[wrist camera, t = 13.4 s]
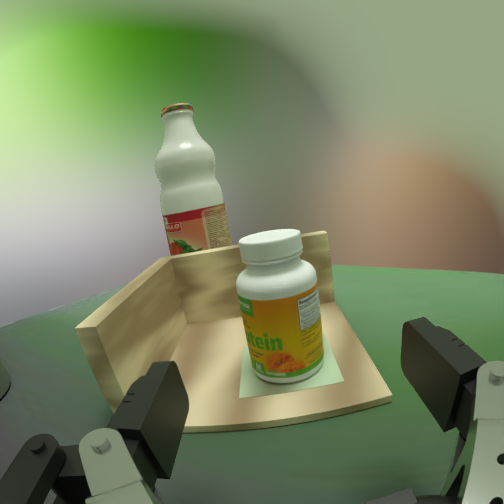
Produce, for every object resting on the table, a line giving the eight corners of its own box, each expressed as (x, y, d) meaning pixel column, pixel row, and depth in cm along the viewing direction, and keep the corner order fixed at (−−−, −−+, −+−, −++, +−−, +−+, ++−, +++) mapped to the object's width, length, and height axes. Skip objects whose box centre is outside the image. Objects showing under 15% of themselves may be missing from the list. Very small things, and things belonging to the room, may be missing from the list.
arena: (122, 429, 16) (74, 328, 14) (178, 324, 33) (161, 257, 32) (391, 401, 15) (397, 282, 14) (331, 301, 32) (324, 230, 31)
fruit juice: (248, 284, 44) (214, 94, 38) (186, 302, 40) (149, 101, 35) (226, 272, 52) (198, 114, 47) (174, 286, 49) (143, 121, 43)
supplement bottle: (238, 372, 21) (209, 245, 19) (281, 340, 25) (263, 227, 23) (297, 394, 17) (276, 246, 15) (337, 353, 21) (326, 225, 19)
